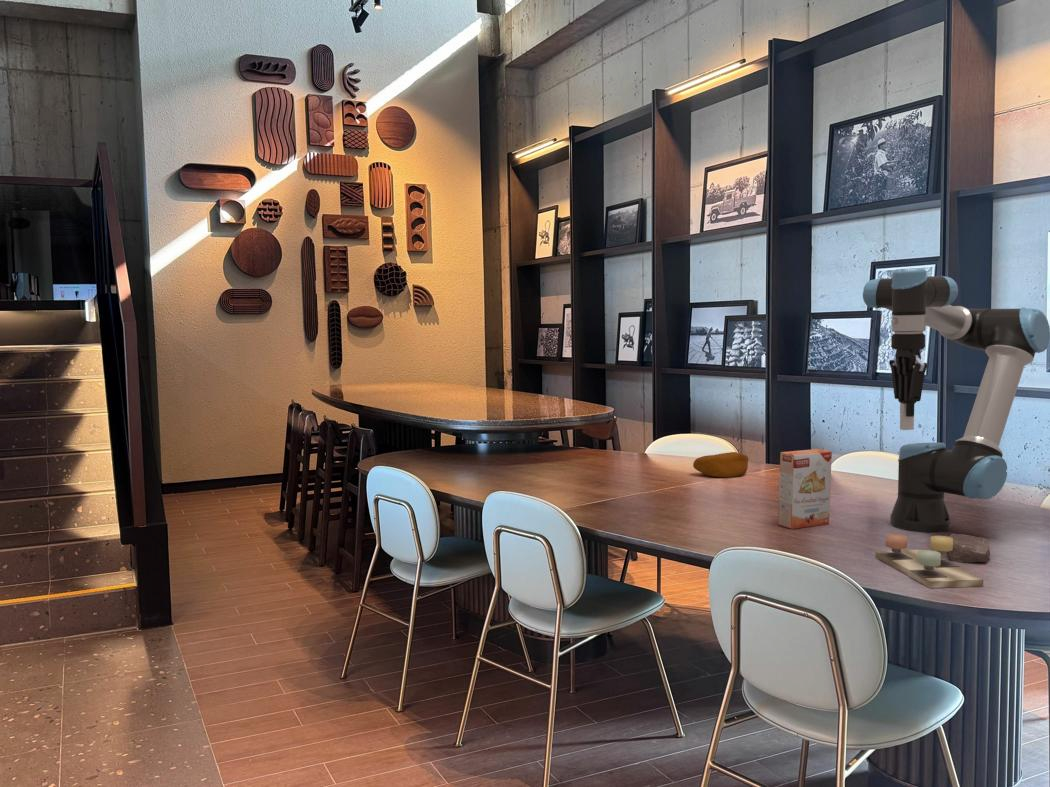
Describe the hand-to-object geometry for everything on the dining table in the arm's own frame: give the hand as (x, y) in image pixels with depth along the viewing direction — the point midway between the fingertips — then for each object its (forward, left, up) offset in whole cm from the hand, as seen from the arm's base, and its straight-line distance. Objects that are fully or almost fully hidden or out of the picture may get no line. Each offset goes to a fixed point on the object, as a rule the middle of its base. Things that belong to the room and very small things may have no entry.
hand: (906, 429), depth 211 cm
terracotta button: (+7, +9, -28) cm, 30 cm away
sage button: (+7, +23, -28) cm, 37 cm away
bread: (+13, -105, -31) cm, 111 cm away
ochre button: (0, +16, -27) cm, 31 cm away
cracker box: (+13, -29, -31) cm, 45 cm away
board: (+3, +16, -31) cm, 34 cm away
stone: (-13, +6, -31) cm, 34 cm away
